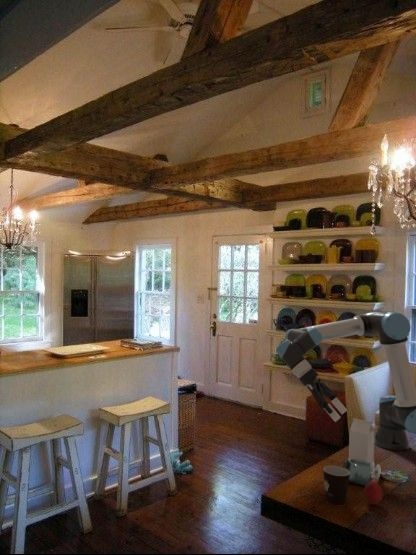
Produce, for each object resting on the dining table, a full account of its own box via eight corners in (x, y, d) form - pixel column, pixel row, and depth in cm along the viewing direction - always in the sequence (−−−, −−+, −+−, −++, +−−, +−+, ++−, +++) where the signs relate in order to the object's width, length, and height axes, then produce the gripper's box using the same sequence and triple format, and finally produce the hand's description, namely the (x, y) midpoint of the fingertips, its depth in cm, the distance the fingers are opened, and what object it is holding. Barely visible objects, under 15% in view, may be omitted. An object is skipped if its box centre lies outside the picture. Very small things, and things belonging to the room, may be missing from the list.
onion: (372, 509, 141) (373, 484, 142) (359, 501, 147) (360, 477, 147) (386, 507, 144) (387, 482, 144) (373, 499, 149) (373, 475, 149)
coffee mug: (350, 509, 141) (351, 477, 142) (322, 505, 143) (323, 473, 143) (346, 493, 152) (347, 464, 153) (320, 490, 154) (321, 461, 155)
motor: (349, 466, 178) (349, 447, 179) (380, 473, 173) (381, 453, 173) (339, 483, 161) (340, 462, 162) (374, 491, 156) (374, 469, 156)
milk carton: (366, 475, 165) (368, 423, 166) (348, 469, 169) (349, 419, 170) (373, 470, 170) (374, 420, 171) (355, 464, 175) (356, 416, 176)
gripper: (306, 374, 195) (340, 414, 187) (289, 383, 173) (327, 429, 165) (319, 364, 192) (354, 404, 185) (303, 371, 170) (342, 417, 163)
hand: (341, 416), depth 175 cm, fingers open, 13 cm apart
